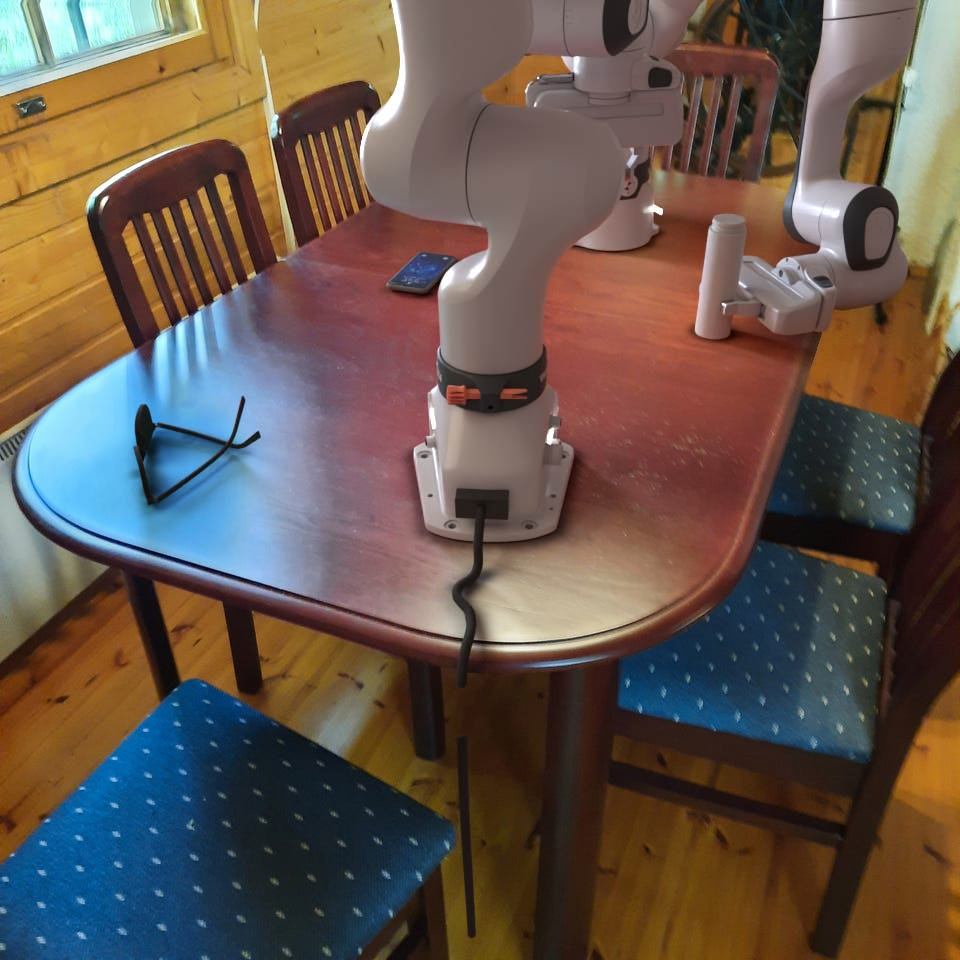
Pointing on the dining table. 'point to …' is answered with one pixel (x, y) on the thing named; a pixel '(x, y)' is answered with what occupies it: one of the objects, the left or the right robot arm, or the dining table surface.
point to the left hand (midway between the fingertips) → (601, 181)
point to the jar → (720, 274)
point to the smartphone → (421, 272)
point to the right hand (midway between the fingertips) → (711, 299)
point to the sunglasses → (147, 427)
